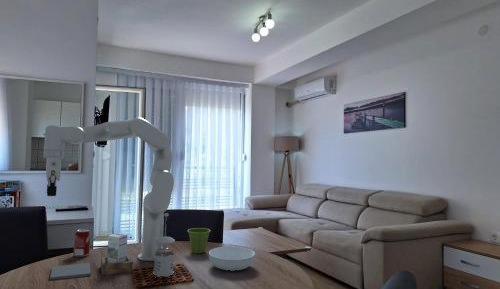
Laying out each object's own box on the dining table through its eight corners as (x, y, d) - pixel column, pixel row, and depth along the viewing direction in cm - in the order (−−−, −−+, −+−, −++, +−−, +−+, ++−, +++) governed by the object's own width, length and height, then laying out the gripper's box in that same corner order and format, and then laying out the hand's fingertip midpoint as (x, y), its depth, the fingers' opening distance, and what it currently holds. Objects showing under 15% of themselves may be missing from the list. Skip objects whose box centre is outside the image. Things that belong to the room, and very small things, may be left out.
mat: (89, 265, 145) (89, 263, 145) (90, 275, 133) (90, 273, 133) (52, 268, 139) (52, 266, 139) (49, 280, 126) (49, 277, 126)
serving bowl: (198, 266, 149) (199, 251, 150) (232, 258, 165) (232, 244, 165) (230, 279, 135) (231, 262, 136) (264, 268, 151) (264, 253, 151)
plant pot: (190, 248, 180) (191, 227, 180) (211, 250, 178) (212, 228, 179) (183, 254, 168) (184, 231, 169) (206, 256, 166) (207, 233, 167)
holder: (128, 263, 149) (129, 254, 150) (132, 271, 139) (132, 261, 140) (100, 266, 144) (101, 257, 144) (102, 274, 134) (103, 264, 134)
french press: (153, 279, 132) (157, 215, 133) (148, 270, 142) (151, 211, 143) (178, 276, 136) (181, 214, 137) (171, 267, 146) (173, 210, 148)
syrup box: (126, 268, 144) (128, 234, 144) (116, 272, 138) (118, 236, 139) (115, 266, 146) (117, 232, 146) (105, 270, 140) (107, 235, 141)
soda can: (82, 258, 155) (84, 232, 156) (70, 256, 156) (71, 231, 157) (92, 254, 162) (93, 229, 162) (80, 253, 163) (81, 228, 164)
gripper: (65, 154, 137) (62, 196, 136) (62, 154, 152) (60, 192, 151) (43, 154, 133) (40, 197, 132) (43, 154, 148) (40, 192, 147)
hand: (51, 194), depth 141 cm, fingers open, 9 cm apart
